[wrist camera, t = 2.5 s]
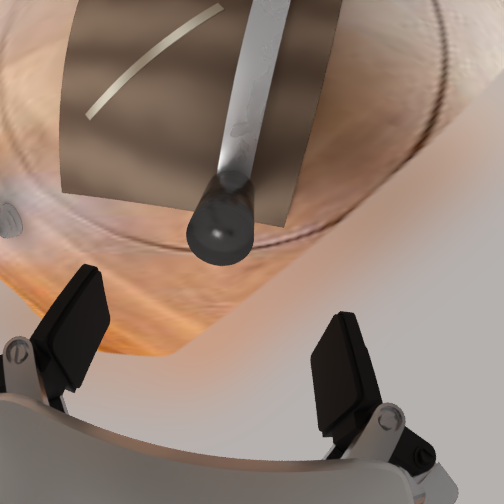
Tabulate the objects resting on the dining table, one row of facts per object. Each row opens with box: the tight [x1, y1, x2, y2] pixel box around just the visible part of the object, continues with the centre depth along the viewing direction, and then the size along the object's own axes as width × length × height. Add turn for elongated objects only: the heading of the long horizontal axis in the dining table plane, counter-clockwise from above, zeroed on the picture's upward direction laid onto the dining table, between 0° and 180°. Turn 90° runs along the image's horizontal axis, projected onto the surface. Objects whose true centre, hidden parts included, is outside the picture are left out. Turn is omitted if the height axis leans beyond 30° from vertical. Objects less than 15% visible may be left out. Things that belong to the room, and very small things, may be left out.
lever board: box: [59, 0, 342, 228], centre depth 16 cm, size 26×22×2 cm
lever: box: [186, 0, 291, 266], centre depth 13 cm, size 22×4×8 cm, turn 169°
